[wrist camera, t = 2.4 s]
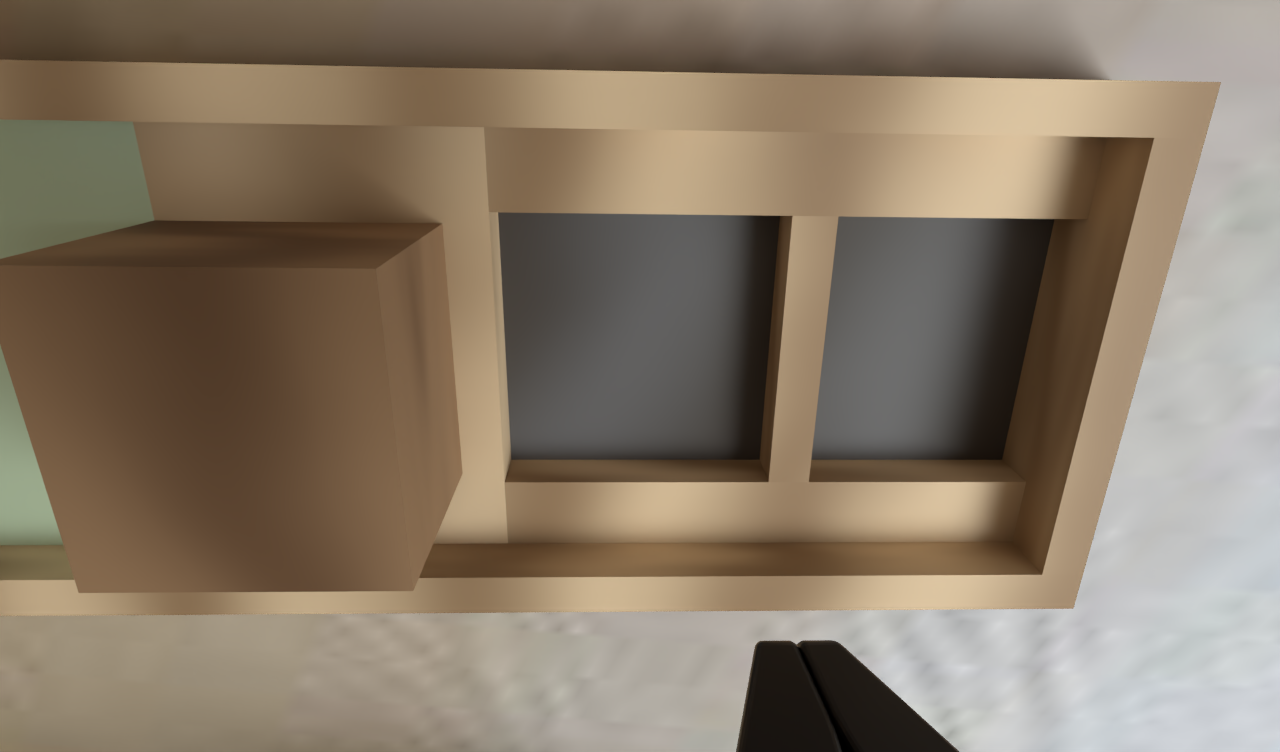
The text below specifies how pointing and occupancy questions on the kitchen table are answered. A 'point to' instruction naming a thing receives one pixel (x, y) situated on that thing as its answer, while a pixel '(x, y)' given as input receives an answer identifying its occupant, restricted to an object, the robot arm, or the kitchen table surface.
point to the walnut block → (239, 402)
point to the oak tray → (710, 316)
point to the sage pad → (46, 216)
